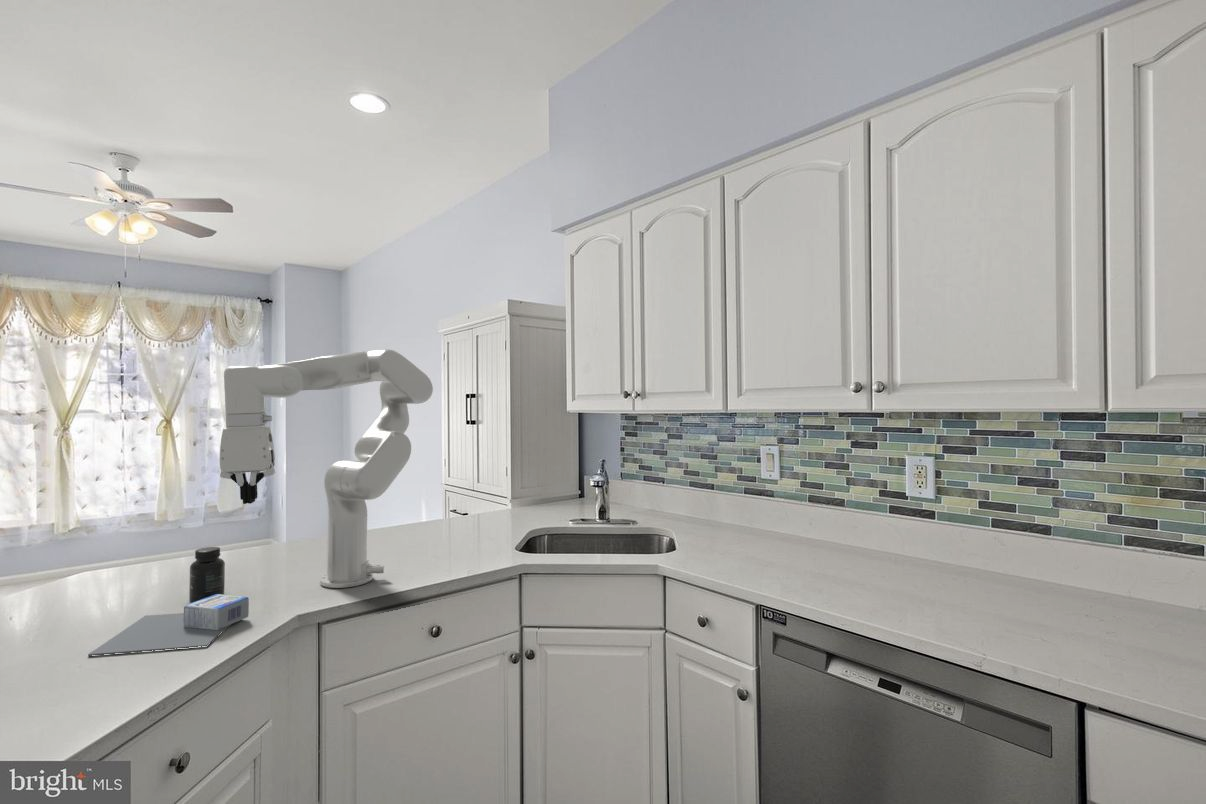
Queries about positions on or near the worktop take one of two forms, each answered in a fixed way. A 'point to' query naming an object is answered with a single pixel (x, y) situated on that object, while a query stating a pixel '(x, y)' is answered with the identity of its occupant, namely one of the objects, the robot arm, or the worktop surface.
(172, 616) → the mat
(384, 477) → the robot arm
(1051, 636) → the worktop surface
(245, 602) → the medicine box
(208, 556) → the supplement bottle
